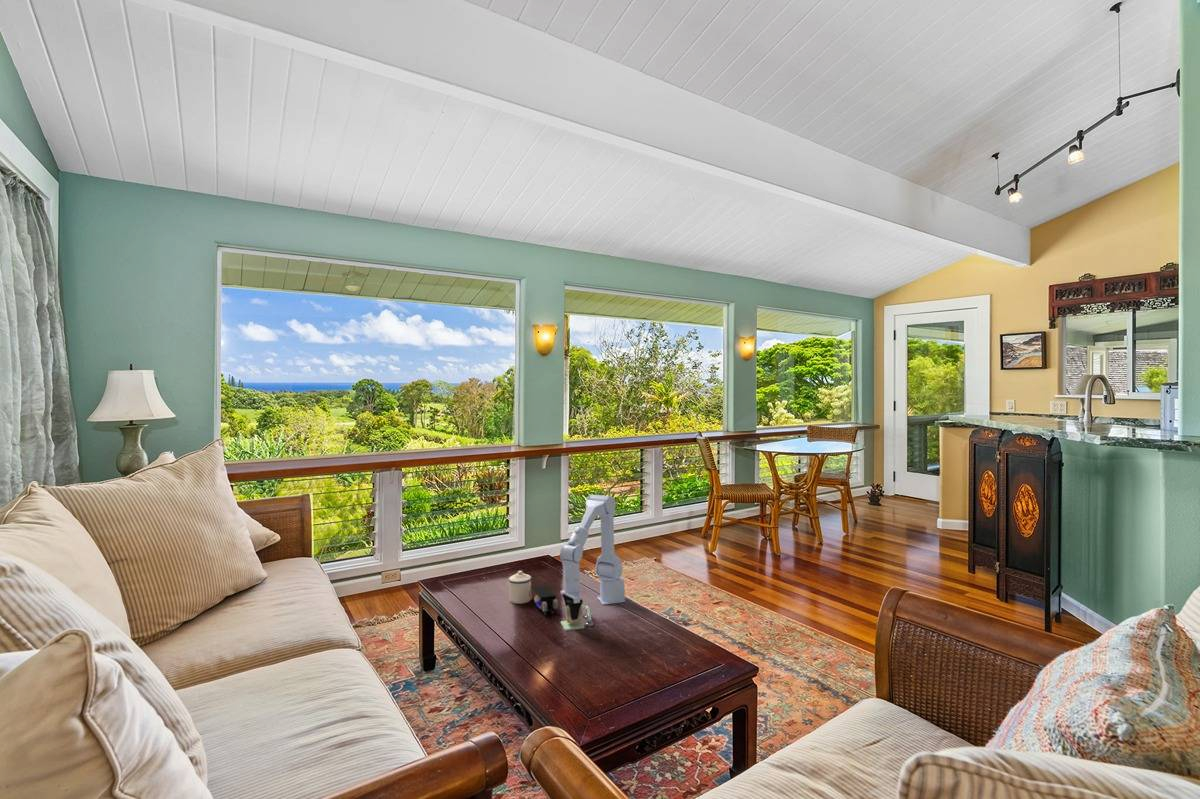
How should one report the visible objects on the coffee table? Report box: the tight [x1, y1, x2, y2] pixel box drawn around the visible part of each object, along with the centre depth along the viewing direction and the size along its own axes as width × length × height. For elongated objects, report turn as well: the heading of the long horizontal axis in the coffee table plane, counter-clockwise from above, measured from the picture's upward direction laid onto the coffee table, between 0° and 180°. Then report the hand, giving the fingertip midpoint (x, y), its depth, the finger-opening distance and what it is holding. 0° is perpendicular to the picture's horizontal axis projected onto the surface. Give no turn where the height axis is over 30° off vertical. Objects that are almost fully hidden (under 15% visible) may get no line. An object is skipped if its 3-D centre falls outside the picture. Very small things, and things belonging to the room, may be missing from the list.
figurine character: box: [531, 584, 559, 616], centre depth 213 cm, size 7×8×15 cm
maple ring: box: [565, 605, 583, 624], centre depth 198 cm, size 6×6×5 cm
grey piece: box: [581, 604, 595, 627], centre depth 204 cm, size 8×15×4 cm, turn 17°
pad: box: [560, 620, 585, 632], centre depth 198 cm, size 7×7×1 cm
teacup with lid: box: [508, 570, 532, 605], centre depth 224 cm, size 12×9×12 cm
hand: (572, 615), depth 197 cm, fingers open, 6 cm apart
